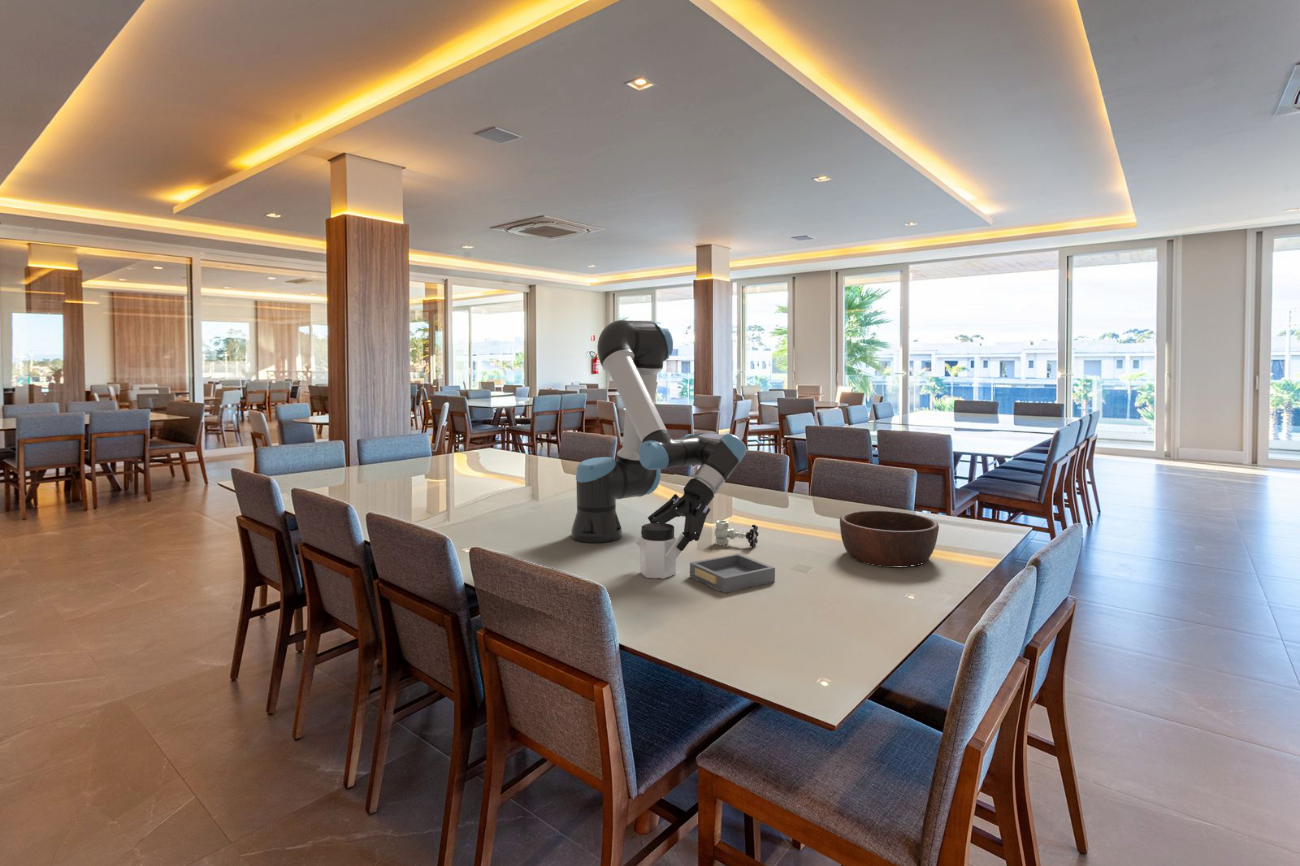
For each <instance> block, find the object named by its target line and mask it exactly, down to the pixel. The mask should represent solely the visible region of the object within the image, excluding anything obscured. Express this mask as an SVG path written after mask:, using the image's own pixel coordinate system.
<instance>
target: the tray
mask: <svg viewBox="0 0 1300 866" xmlns="http://www.w3.org/2000/svg"><path fill="white" fill-rule="evenodd" d="M690 576H691V577H690ZM689 577H690V578H692V577H693V578H692V579H694V578H695V579H694V580H696V579H697V580H696V581H698V580H699V581H698V582H700V581H702V582H703V584H704V583H705V585H706V584H708V585H710V586H709V587H711V586H712V587H711V588H713V587H714V588H713V589H715V588H716V589H715V590H717V589H718V590H717V591H719V590H720V591H719V592H721V591H722V592H721V593H723V592H724V594H727V593H726V592H728V593H731V591H732V592H735V591H736V590H737V591H741V590H745V588H746V589H749V587H750V588H754V586H755V587H759V586H763V585H762V584H764V585H768V584H771V583H772V582H773V583H775V581H776V567H774V566H772V565H769V564H766V563H763V562H761V561H758V560H756V559H753V558H751V557H748V556H745V555H742V554H740V553H735V554H729V555H723V556H718V557H713V558H707V559H703V560H697V561H691V562H689ZM702 582H701V583H702ZM708 585H707V586H708ZM740 589H741V590H740Z"/></svg>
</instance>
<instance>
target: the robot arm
mask: <svg viewBox="0 0 1300 866" xmlns="http://www.w3.org/2000/svg"><path fill="white" fill-rule="evenodd" d="M673 340H674V339H673V336H672V333H671V331H670V329H669V328H668V327H667V325H666V324H664V323H662V322H658V321H652V320H626V319H619V320H614V321H612V322H610V323H608V324H607V325H606V326H605V327H604V329H602V331H601V332H600V335H599V337H598V340H597V344H596V345H597V349H596V350H597V356H598V360H599V363H600V365H601V367H602V370H603V371H604V372H607V373H608V374H609V375H610V377H611V380H612V382H613V384H614V387H615V389H616V390H617V393H618V395H619V397H620V399H621V401H622V404H623V406H624V408H625V413H624V424H623V425H624V426H623V435H622V436H623V439H622V448H620V449H619V450H618V451H617V453H616V459H615V458H614V457H610V456H600V457H593V458H589V459H585V460H582V461H580V462H579V463H578V465H577V466H576V471H575V472H576V474H575V481H576V514H575V517H574V521H573V523H572V527H571V532H570V533H571V534H570V535H571V539H572V540H574V541H577V542H582V543H591V544H592V543H595V544H596V543H608V542H613V541H617V540H620V539H621V538H622V536H623V530H622V525H621V523H620V519H619V516H618V513H617V506H616V505H617V501H616V500H622V499H628V498H635V497H637V498H638V497H639V498H640V497H641V498H642V497H644V496H646V495H650V494H652V493H653V492H654V491H656V490H657V488H658V487H659V485H660V482H661V474H662V473H661V470H665V469H670V468H672V469H673V468H676V467H677V468H678V467H679V468H681V467H689V466H699V467H698V468H697V470H696V471H695V472H694V473H693V475H692V478H690V479H689V480H688V482H687V483H686V485H685V486H684V487H683V495H682V496H681V497H679V495H677V493H674V494H673V495H672V496H671V498H670V499H669V500H668V501H666V502H665V503H663V505H661V506H660V507H659V508H657V509H656V510H655V511H654V512H653V513H651V514H650V515H649V516H648V517H647V520H648V521H649V523H667V524H668V522H671V520H673V519H675V518H680V517H683V518H684V517H685V520H684V527H683V531H682V532H681V534H679V535H678V537H677V538H676V541H675V542H674V544H673V545H672V546H671V548H670V549H669V550H668V552H667V553H666V554H665V557H666V558H667V559H668V560H669V561H670V562H671V563H673V562H674V561H675V560H676V561H677V558H678V557H679V555H680V554H681V553H682V552H683V551H684V550H685V548H687V546H688V545H689V543H690V542H692V541H695V542H697V541H699V540H700V538H701V534H702V532H703V528H704V525H705V522H706V518H707V516H708V515H709V513H710V511H711V508H710V507H709V505H710V503H711V502H712V500H713V499H714V498H715V495H716V494H717V493H718V492H719V490H720V489H721V487H723V485H724V484H725V482H727V480H728V479H729V477H730V476H731V474H732V473H733V472H734V471H735V470H736V469H737V467H738V465H739V464H740V463H741V462H742V460H743V458H744V457H745V456H746V454H747V451H748V449H747V446H746V444H745V442H744V441H743V440H742V439H740V438H739V437H738V436H737V435H735V434H732V433H726V434H723V436H722V437H720V439H719V440H716V439H711V438H708V437H704V436H703V435H700V434H691V433H689V434H685V435H684V436H682V437H679V438H678V437H677V438H671V435H670V434H669V431H668V429H667V428H666V426H665V424H664V421H663V419H662V418H661V416H660V412H659V411H658V409H657V407H656V405H655V404H656V403H655V401H656V390H657V382H658V381H657V379H658V374H659V372H660V371H662V370H663V369H664V362H666V361H667V360H669V359H670V358H671V356H672V354H673V350H674V349H673V348H674V341H673ZM640 536H642V534H641V535H640ZM635 545H638V547H639V548H640V537H639V538H638V539H637V541H636V542H635Z"/></svg>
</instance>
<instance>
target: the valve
mask: <svg viewBox="0 0 1300 866" xmlns="http://www.w3.org/2000/svg"><path fill="white" fill-rule="evenodd" d="M758 529H759V526H757V525H756V524H752V525H751V528H750V529H749V531H747V532H746V533H745V532H744V531H736V528H730V529H729V521H728V520H723V519H721V520H716V521H715V530H714V536H715V544H716V543H717V544H721V545H720V546H726V545H725V544H728V545H729V540H735V538H738V539H744V538H745V540H747V542H748V544H749V547H751V548H753V547H755V546H756V547H757V545H756V544H758V536H759V532H758ZM717 544H716V545H717ZM756 547H755V548H756Z"/></svg>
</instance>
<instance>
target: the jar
mask: <svg viewBox="0 0 1300 866" xmlns="http://www.w3.org/2000/svg"><path fill="white" fill-rule="evenodd" d="M640 534H641V535H642V536H641V535H640V536H639V538H640V547H639V572H640V574H642V576H644V577H645V578H646V579H657V578H661V579H662V580H665V579H667V577H668V578H670V577H673V576H675V575H676V574H677V565H676V564H677V559H676V560H675V561H674V562H673V563H671V562H670V561H669V560H668V559H667V558H666V557H665V554H666V553H667V552H668V550H669V549H670V548H671V546H672V545H673V544H674V542H675V541H676V540H677V538H676V537H675V526H674V525H673V524H671V523H668V522H667V523H650V522H649V523H645V524H643V525H642V526H641V531H640ZM672 575H673V576H672Z"/></svg>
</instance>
